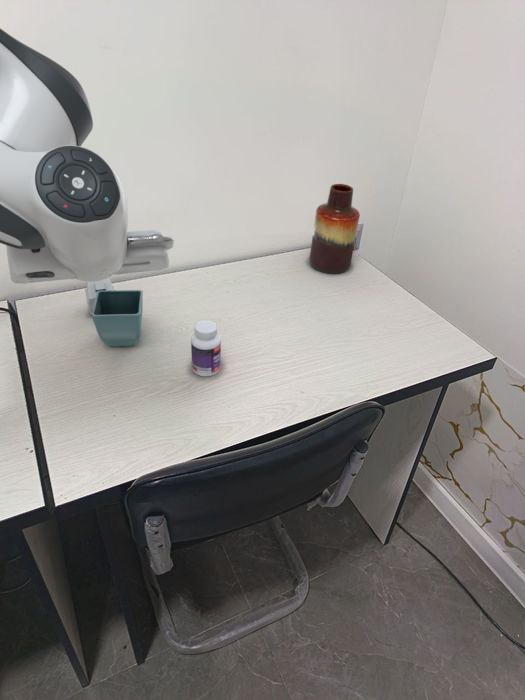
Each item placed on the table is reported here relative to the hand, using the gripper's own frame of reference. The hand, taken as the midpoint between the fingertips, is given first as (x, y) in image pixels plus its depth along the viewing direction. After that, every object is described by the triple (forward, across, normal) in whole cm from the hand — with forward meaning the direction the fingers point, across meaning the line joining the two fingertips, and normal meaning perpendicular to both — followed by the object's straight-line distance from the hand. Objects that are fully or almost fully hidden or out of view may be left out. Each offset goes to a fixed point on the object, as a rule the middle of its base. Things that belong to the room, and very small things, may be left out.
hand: (94, 274), depth 72 cm
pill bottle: (+19, -17, +15) cm, 30 cm away
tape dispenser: (+36, 0, -2) cm, 36 cm away
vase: (+42, -58, -8) cm, 73 cm away
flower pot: (+28, -3, +6) cm, 29 cm away
